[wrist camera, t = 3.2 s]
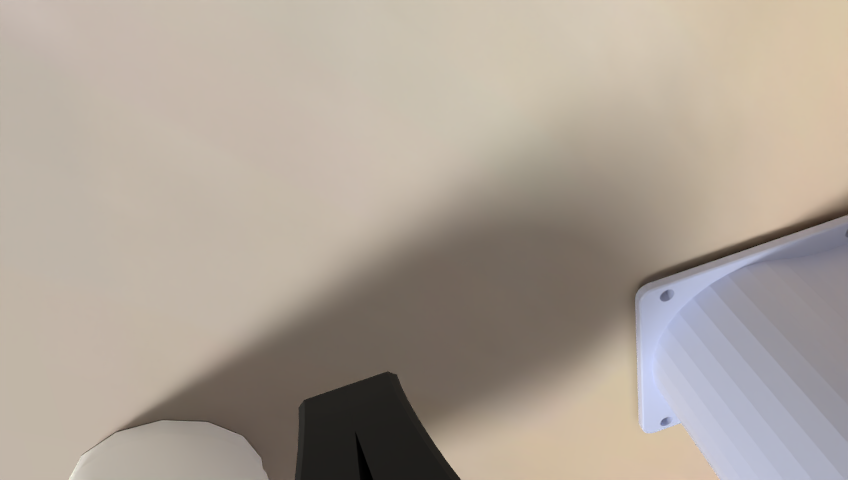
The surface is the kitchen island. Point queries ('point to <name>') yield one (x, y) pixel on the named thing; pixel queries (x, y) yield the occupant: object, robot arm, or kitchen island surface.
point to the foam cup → (171, 454)
